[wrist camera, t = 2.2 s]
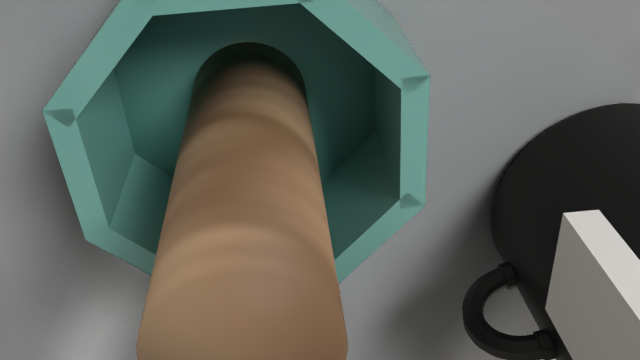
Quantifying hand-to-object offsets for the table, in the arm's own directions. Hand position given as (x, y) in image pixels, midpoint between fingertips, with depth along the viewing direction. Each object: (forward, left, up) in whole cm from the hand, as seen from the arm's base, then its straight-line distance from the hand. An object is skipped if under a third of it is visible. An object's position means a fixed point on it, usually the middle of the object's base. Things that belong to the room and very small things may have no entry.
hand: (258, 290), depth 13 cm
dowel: (0, 0, -10) cm, 10 cm away
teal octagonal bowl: (0, 0, -11) cm, 11 cm away
